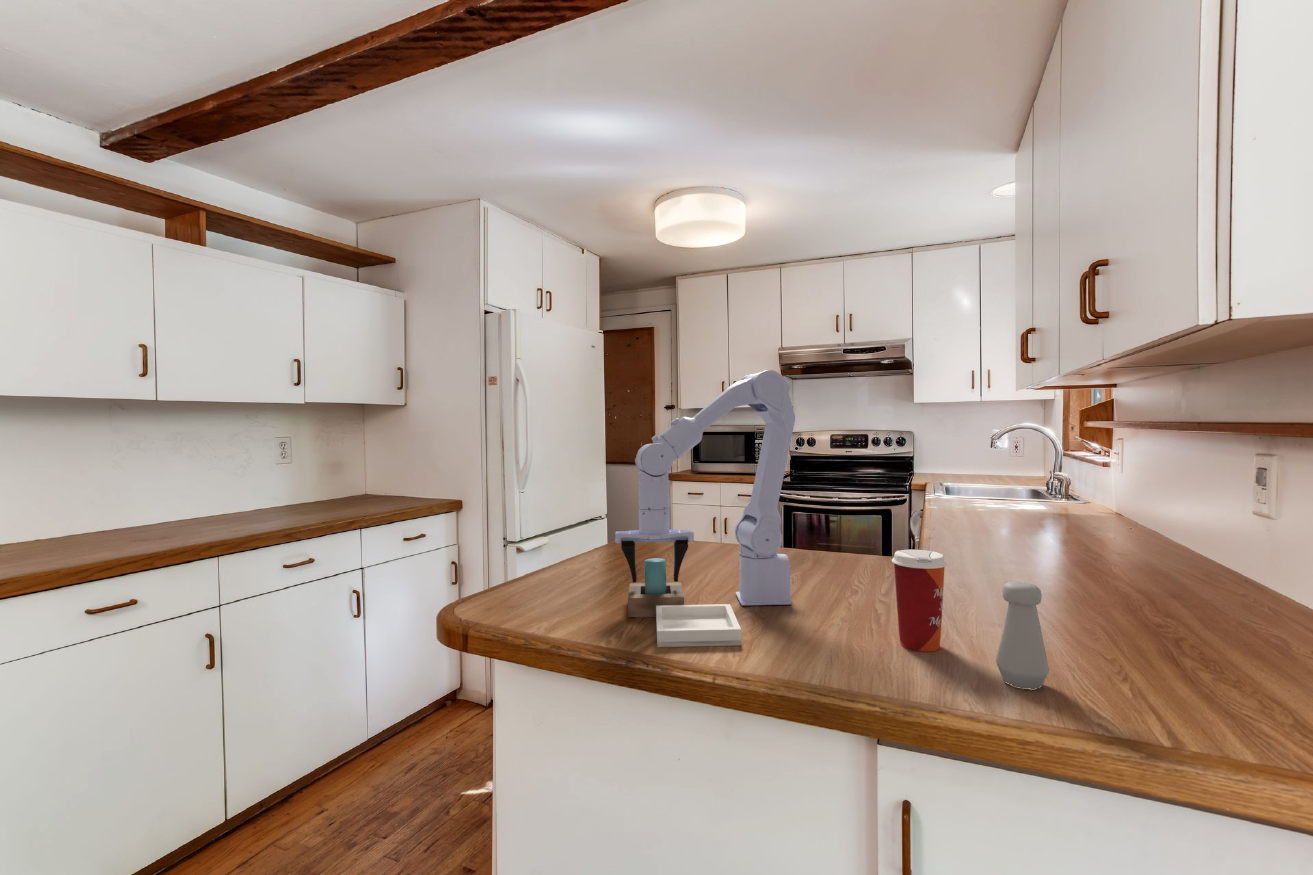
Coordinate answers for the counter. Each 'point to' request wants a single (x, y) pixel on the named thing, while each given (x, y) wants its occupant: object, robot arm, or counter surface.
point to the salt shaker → (1022, 638)
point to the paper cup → (919, 598)
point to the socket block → (652, 599)
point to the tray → (697, 625)
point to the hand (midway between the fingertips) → (655, 580)
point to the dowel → (655, 576)
